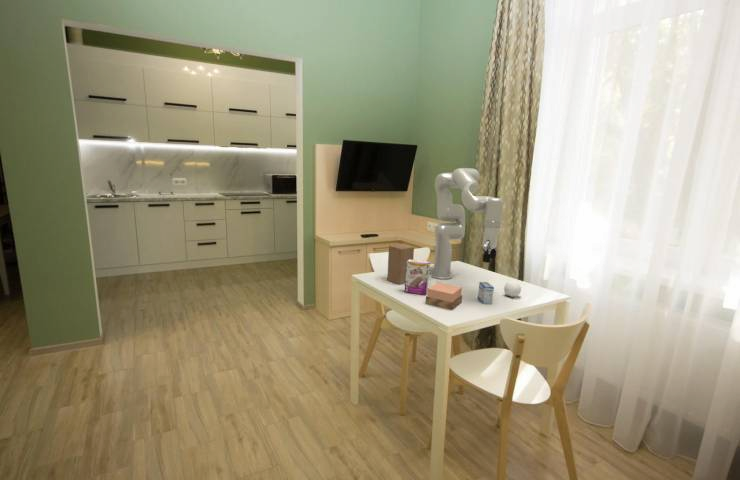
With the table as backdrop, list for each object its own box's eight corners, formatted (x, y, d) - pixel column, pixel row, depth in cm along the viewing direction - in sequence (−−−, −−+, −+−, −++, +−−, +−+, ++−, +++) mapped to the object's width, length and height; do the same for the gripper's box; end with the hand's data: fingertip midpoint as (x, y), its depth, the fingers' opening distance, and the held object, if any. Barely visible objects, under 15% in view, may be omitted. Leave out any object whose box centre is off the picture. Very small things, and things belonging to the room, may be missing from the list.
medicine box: (477, 298, 187) (478, 281, 185) (486, 298, 187) (487, 281, 186) (483, 304, 179) (485, 286, 177) (492, 304, 180) (494, 286, 178)
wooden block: (399, 285, 203) (401, 248, 199) (386, 280, 210) (388, 245, 207) (412, 281, 210) (414, 246, 206) (399, 277, 217) (401, 243, 213)
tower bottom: (425, 304, 177) (426, 296, 176) (436, 297, 188) (436, 289, 187) (451, 311, 170) (452, 303, 169) (461, 303, 181) (462, 295, 180)
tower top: (427, 296, 176) (427, 288, 175) (437, 290, 186) (438, 282, 185) (451, 302, 170) (452, 294, 169) (460, 295, 179) (461, 287, 179)
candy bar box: (404, 292, 191) (405, 261, 188) (406, 289, 196) (408, 259, 193) (426, 295, 188) (428, 263, 184) (427, 292, 192) (430, 261, 189)
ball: (520, 300, 187) (522, 284, 185) (503, 297, 189) (505, 282, 187) (519, 294, 194) (521, 280, 193) (502, 292, 197) (504, 278, 195)
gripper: (489, 221, 185) (486, 255, 188) (478, 225, 171) (475, 262, 174) (505, 223, 181) (501, 258, 184) (495, 227, 167) (492, 265, 170)
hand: (489, 260), depth 179 cm, fingers open, 9 cm apart
